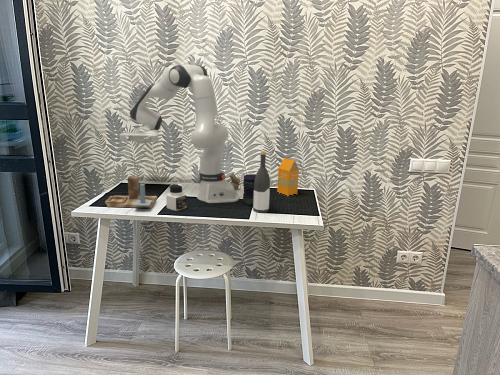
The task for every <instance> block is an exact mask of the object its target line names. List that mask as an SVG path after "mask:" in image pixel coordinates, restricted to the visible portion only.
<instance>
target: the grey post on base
mask: <svg viewBox="0 0 500 375" xmlns="http://www.w3.org/2000/svg"><path fill="white" fill-rule="evenodd" d="M145 185H146V184H145V183H139V194H140V200H136V202H135V203H134V206H150V204H151V202H152V200H145V196H146V187H145Z"/></svg>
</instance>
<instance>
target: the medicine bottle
mask: <svg viewBox="0 0 500 375" xmlns="http://www.w3.org/2000/svg"><path fill="white" fill-rule="evenodd" d="M165 197H166V198H165V200H166V209H168V210H170V211H173V212H174V211H175V212H179V211H181V210H185V209H186V208H188V206H187V194H186V193H184V192H183V185H182V184H179V183H174V184H171V185H169V193H167V194H166V195H165Z"/></svg>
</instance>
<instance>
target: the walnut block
mask: <svg viewBox="0 0 500 375" xmlns="http://www.w3.org/2000/svg"><path fill="white" fill-rule="evenodd" d="M139 178H140V176H139V175H134V176H133V175H130V176H128V177H127V189H128V190H127V192H128V196H129V199H137V198H138V197H140V179H139Z"/></svg>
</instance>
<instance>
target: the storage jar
mask: <svg viewBox="0 0 500 375" xmlns="http://www.w3.org/2000/svg"><path fill="white" fill-rule="evenodd" d="M256 174H257V173H256ZM256 174H255V173H253V174H252V173H248V174H245V175H243V180H242V183H243V184H242V186H243V193H242V206H244V207H247V208H253V203H254V180H255V177H256Z"/></svg>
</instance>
